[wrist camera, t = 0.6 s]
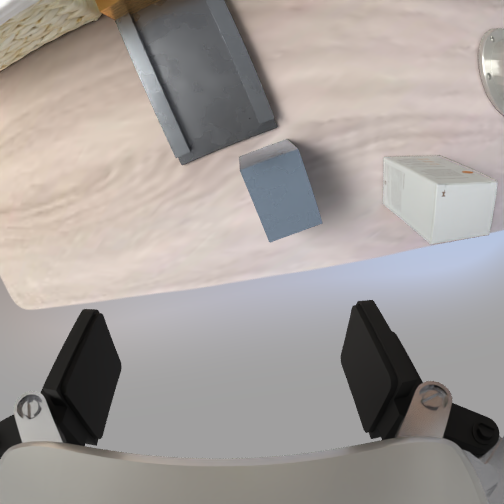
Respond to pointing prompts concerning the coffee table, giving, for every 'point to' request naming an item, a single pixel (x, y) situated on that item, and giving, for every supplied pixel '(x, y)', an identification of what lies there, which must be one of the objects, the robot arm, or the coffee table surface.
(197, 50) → the dock
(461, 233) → the small box
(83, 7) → the storage basket
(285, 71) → the coffee table surface
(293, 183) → the block
